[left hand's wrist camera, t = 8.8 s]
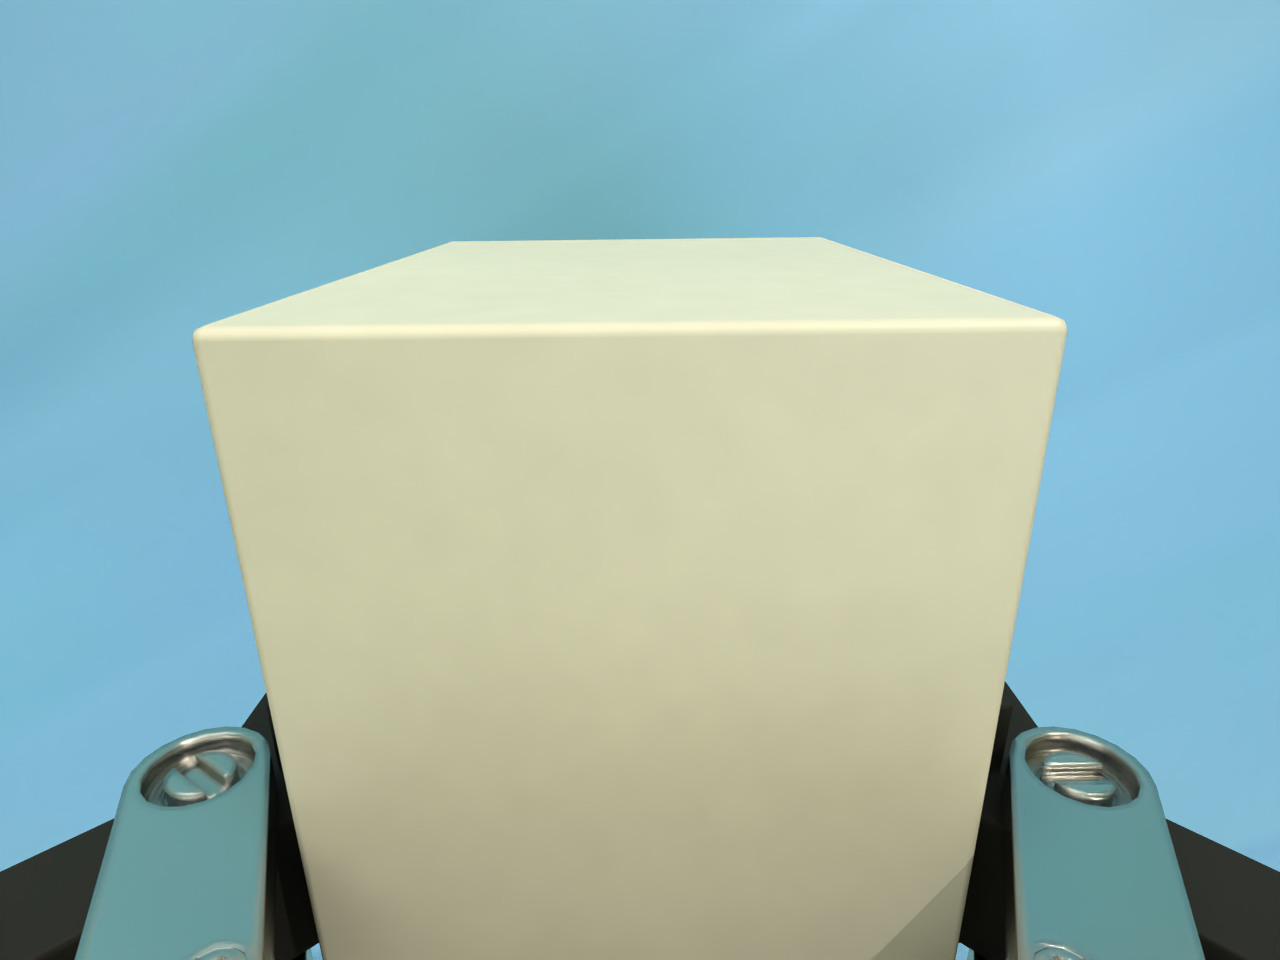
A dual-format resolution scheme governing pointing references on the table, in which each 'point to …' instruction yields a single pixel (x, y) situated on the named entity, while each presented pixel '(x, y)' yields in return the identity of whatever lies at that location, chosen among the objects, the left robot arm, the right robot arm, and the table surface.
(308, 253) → the table surface
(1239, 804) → the table surface
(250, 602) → the block
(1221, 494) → the table surface
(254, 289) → the table surface
